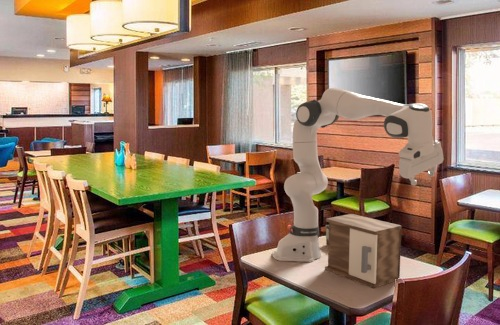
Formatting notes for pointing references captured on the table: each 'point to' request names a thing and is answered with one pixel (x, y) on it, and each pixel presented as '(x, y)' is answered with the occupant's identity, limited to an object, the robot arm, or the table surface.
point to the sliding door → (363, 255)
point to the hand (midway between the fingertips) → (422, 180)
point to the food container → (327, 234)
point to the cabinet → (385, 247)
